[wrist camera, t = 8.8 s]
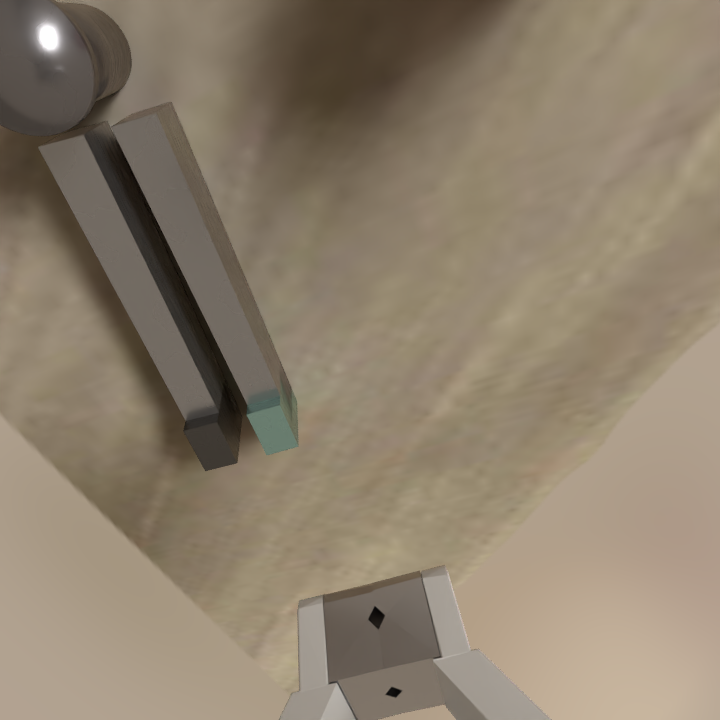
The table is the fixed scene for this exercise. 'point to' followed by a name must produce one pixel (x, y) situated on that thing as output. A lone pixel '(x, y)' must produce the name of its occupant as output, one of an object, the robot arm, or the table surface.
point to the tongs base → (111, 198)
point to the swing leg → (210, 268)
